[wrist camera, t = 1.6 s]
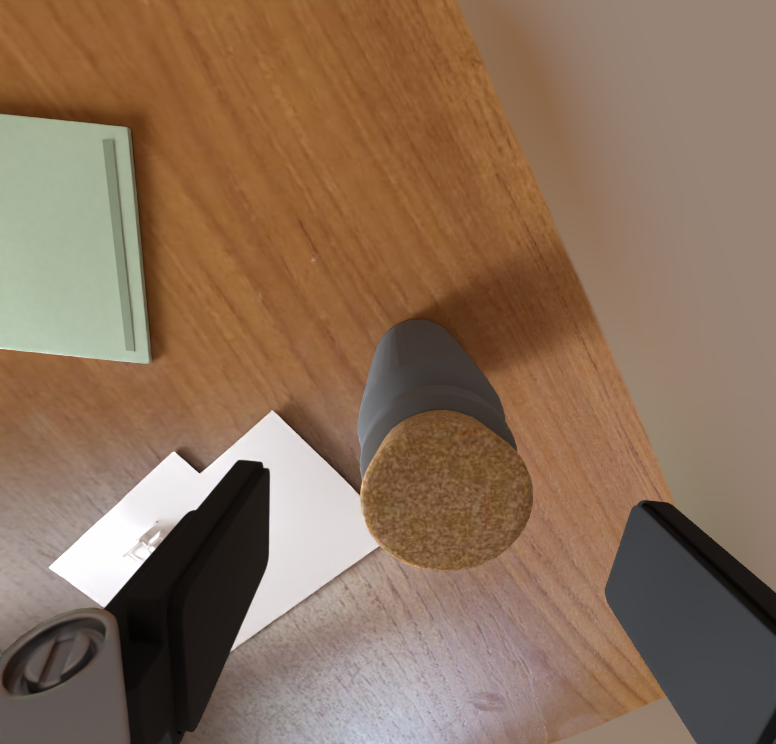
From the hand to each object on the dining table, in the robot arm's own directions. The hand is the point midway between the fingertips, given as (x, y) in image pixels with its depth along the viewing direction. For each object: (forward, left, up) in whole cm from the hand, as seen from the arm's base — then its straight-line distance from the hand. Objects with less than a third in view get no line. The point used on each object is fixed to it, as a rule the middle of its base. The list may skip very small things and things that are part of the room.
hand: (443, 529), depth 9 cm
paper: (+17, -14, -16) cm, 27 cm away
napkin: (-5, -25, -16) cm, 30 cm away
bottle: (0, 0, -16) cm, 16 cm away
